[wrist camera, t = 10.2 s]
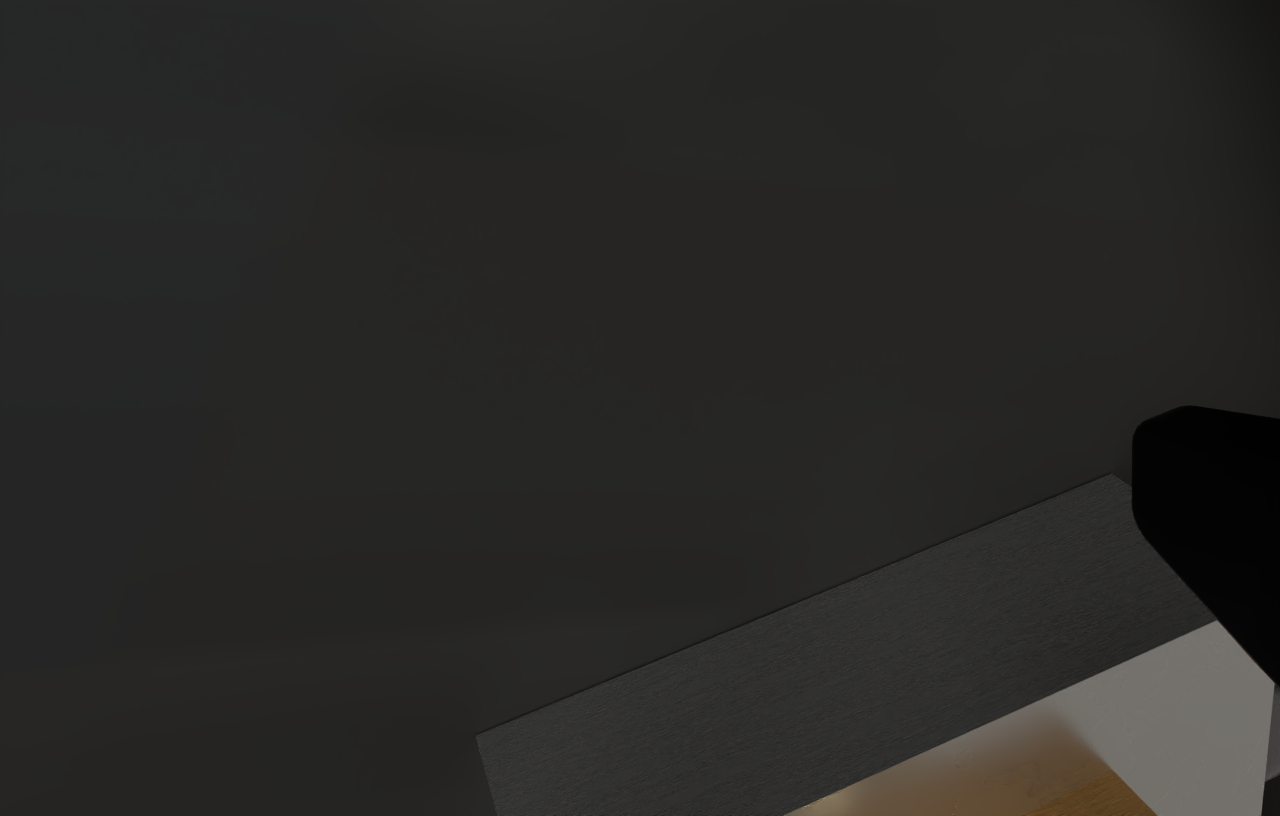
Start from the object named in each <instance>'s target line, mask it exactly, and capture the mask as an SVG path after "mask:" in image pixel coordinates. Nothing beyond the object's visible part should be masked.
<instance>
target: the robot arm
mask: <svg viewBox="0 0 1280 816" xmlns="http://www.w3.org/2000/svg"><path fill="white" fill-rule="evenodd" d="M1132 512H1133V516H1134V520H1135V522H1136V524H1137V527H1138V529H1139V530H1140V532H1141V534H1142V535H1143V537H1144V538H1145V539H1146V541H1147V542H1148V543H1149V544H1150V545H1151V546H1152V547H1153V549H1154V550H1155V551H1156V552H1157V553H1158V554H1159V555H1160V556H1161V558H1162V559H1163V560H1164V561H1165V562H1166V563H1167V564H1168V565H1169V567H1170V568H1171V569H1172V570H1173V571H1174V572H1175V573H1176V574H1177V576H1178V577H1179V578H1180V579H1181V580H1182V581H1183V582H1184V584H1185V585H1186V586H1187V587H1188V588H1189V589H1190V590H1191V591H1192V593H1193V594H1194V595H1195V596H1196V597H1197V598H1198V599H1199V600H1200V602H1201V603H1202V604H1203V605H1204V606H1205V607H1206V608H1207V609H1208V611H1209V612H1210V613H1211V614H1212V615H1213V616H1214V617H1215V618H1216V620H1217V621H1218V622H1219V623H1220V624H1221V625H1222V626H1223V627H1224V629H1225V630H1226V631H1227V632H1228V633H1229V634H1230V635H1231V636H1232V638H1233V639H1234V640H1235V641H1236V642H1237V643H1238V644H1239V645H1240V647H1241V648H1242V649H1243V650H1244V651H1245V652H1246V653H1247V655H1248V656H1249V657H1250V658H1251V659H1252V660H1253V661H1254V662H1255V663H1256V664H1257V665H1258V666H1259V668H1260V669H1261V670H1262V671H1263V672H1264V673H1265V674H1266V675H1267V676H1268V677H1269V678H1270V679H1271V680H1272V681H1273V682H1274V683H1275V685H1277V686H1278V687H1279V688H1280V419H1277V418H1271V417H1264V416H1258V415H1251V414H1244V413H1238V412H1231V411H1225V410H1218V409H1212V408H1205V407H1199V406H1181V407H1178V408H1175V409H1172V410H1170V411H1167V412H1165V413H1162V414H1160V415H1157V416H1155V417H1152V418H1150V419H1147V420H1145V421H1144V422H1142V423H1141V424H1140V425H1139V426H1138V427H1137V429H1136V431H1135V433H1134V435H1133V441H1132Z"/></svg>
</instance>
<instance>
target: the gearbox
mask: <svg viewBox="0 0 1280 816" xmlns="http://www.w3.org/2000/svg"><path fill="white" fill-rule="evenodd" d="M476 740H477V743H478V747H479V750H480V754H481V758H482V761H483V765H484V769H485V772H486V776H487V779H488V783H489V787H490V790H491V794H492V798H493V801H494V805H495V808H496V812H497V816H1261V812H1262V802H1263V792H1264V782H1266V781H1268V780H1270V779H1272V778H1274V777H1276V776H1278V775H1280V688H1279V687H1278V686H1277V685H1275V683H1274V682H1273V681H1272V680H1271V679H1270V678H1269V677H1268V676H1267V675H1266V674H1265V673H1264V672H1263V671H1262V670H1261V669H1260V668H1259V666H1258V665H1257V664H1256V663H1255V662H1254V661H1253V660H1252V659H1251V658H1250V657H1249V656H1248V655H1247V653H1246V652H1245V651H1244V650H1243V649H1242V648H1241V647H1240V645H1239V644H1238V643H1237V642H1236V641H1235V640H1234V639H1233V638H1232V636H1231V635H1230V634H1229V633H1228V632H1227V631H1226V630H1225V629H1224V627H1223V626H1222V625H1221V624H1220V623H1219V622H1218V621H1217V620H1216V618H1215V617H1214V616H1213V615H1212V614H1211V613H1210V612H1209V611H1208V609H1207V608H1206V607H1205V606H1204V605H1203V604H1202V603H1201V602H1200V600H1199V599H1198V598H1197V597H1196V596H1195V595H1194V594H1193V593H1192V591H1191V590H1190V589H1189V588H1188V587H1187V586H1186V585H1185V584H1184V582H1183V581H1182V580H1181V579H1180V578H1179V577H1178V576H1177V574H1176V573H1175V572H1174V571H1173V570H1172V569H1171V568H1170V567H1169V565H1168V564H1167V563H1166V562H1165V561H1164V560H1163V559H1162V558H1161V556H1160V555H1159V554H1158V553H1157V552H1156V551H1155V550H1154V549H1153V547H1152V546H1151V545H1150V544H1149V543H1148V542H1147V541H1146V539H1145V538H1144V537H1143V535H1142V534H1141V532H1140V530H1139V529H1138V527H1137V524H1136V522H1135V520H1134V516H1133V512H1132V487H1131V486H1129V485H1128V484H1126V483H1125V482H1123V481H1122V480H1120V479H1119V478H1117V477H1116V476H1114V475H1113V474H1109V475H1107V476H1104V477H1102V478H1100V479H1097V480H1095V481H1092V482H1090V483H1087V484H1085V485H1083V486H1080V487H1078V488H1075V489H1073V490H1070V491H1068V492H1066V493H1063V494H1061V495H1058V496H1056V497H1053V498H1051V499H1049V500H1046V501H1044V502H1041V503H1039V504H1036V505H1034V506H1032V507H1029V508H1027V509H1024V510H1022V511H1019V512H1017V513H1015V514H1012V515H1010V516H1007V517H1005V518H1002V519H1000V520H998V521H995V522H993V523H990V524H988V525H985V526H983V527H981V528H978V529H976V530H973V531H971V532H969V533H966V534H964V535H961V536H959V537H956V538H954V539H952V540H949V541H947V542H944V543H942V544H939V545H937V546H935V547H932V548H930V549H927V550H925V551H922V552H920V553H918V554H915V555H913V556H910V557H908V558H905V559H903V560H901V561H898V562H896V563H893V564H891V565H888V566H886V567H884V568H881V569H879V570H876V571H874V572H871V573H869V574H867V575H864V576H862V577H859V578H857V579H854V580H852V581H850V582H847V583H845V584H842V585H840V586H837V587H835V588H833V589H830V590H828V591H825V592H823V593H821V594H818V595H816V596H813V597H811V598H808V599H806V600H804V601H801V602H799V603H796V604H794V605H791V606H789V607H787V608H784V609H782V610H779V611H777V612H774V613H772V614H770V615H767V616H765V617H762V618H760V619H757V620H755V621H753V622H750V623H748V624H745V625H743V626H740V627H738V628H736V629H733V630H731V631H728V632H726V633H723V634H721V635H719V636H716V637H714V638H711V639H709V640H706V641H704V642H702V643H699V644H697V645H694V646H692V647H689V648H687V649H685V650H682V651H680V652H677V653H675V654H673V655H670V656H668V657H665V658H663V659H660V660H658V661H656V662H653V663H651V664H648V665H646V666H643V667H641V668H639V669H636V670H634V671H631V672H629V673H626V674H624V675H622V676H619V677H617V678H614V679H612V680H609V681H607V682H605V683H602V684H600V685H597V686H595V687H592V688H590V689H588V690H585V691H583V692H580V693H578V694H575V695H573V696H571V697H568V698H566V699H563V700H561V701H558V702H556V703H554V704H551V705H549V706H546V707H544V708H541V709H539V710H537V711H534V712H532V713H529V714H527V715H525V716H522V717H520V718H517V719H515V720H512V721H510V722H508V723H505V724H503V725H500V726H498V727H495V728H493V729H491V730H488V731H486V732H483V733H481V734H478V735H476Z"/></svg>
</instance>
